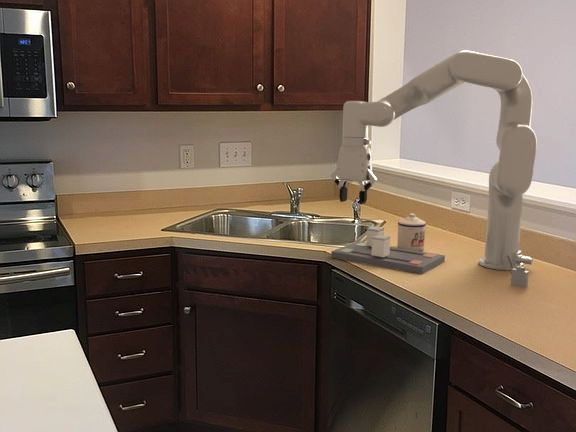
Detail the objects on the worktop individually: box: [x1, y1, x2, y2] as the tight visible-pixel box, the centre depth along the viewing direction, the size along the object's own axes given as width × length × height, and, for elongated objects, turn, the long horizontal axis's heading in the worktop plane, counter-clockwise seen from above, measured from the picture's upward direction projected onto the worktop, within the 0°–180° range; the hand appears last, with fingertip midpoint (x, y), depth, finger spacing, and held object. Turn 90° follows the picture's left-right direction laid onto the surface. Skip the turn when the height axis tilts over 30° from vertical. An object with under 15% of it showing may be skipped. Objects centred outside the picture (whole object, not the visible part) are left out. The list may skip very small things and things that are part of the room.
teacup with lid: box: [396, 213, 427, 252], centre depth 215 cm, size 12×9×12 cm
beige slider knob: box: [371, 235, 391, 257], centre depth 196 cm, size 4×4×6 cm
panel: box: [330, 241, 446, 275], centre depth 201 cm, size 30×17×2 cm, turn 55°
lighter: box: [502, 254, 530, 289], centre depth 176 cm, size 7×2×8 cm, turn 49°
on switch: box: [365, 226, 385, 247], centre depth 208 cm, size 4×4×6 cm
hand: (352, 201), depth 199 cm, fingers open, 5 cm apart
